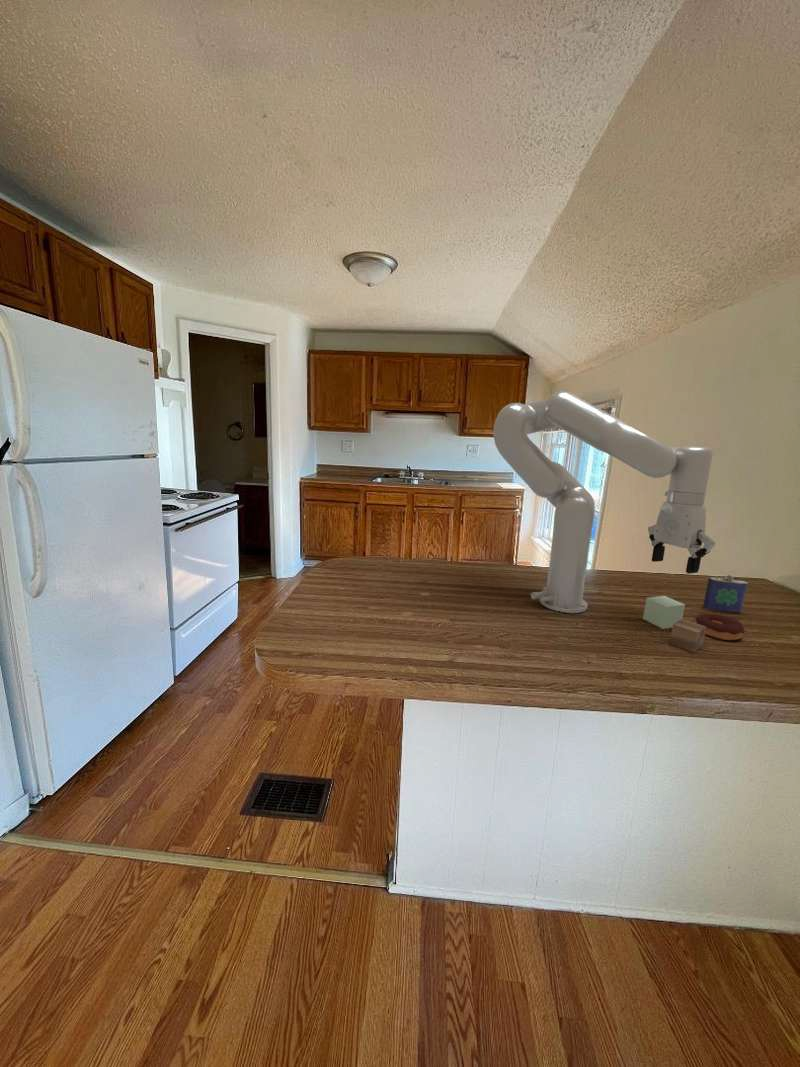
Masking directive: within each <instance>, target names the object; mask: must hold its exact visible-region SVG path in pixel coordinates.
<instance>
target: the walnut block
mask: <svg viewBox="0 0 800 1067" xmlns="http://www.w3.org/2000/svg"><path fill="white" fill-rule="evenodd" d="M705 631H706V626H703V625H699V624H696V623H694V621H690V620H686V619H683V618H682V619H681V620H679V621H678V622H676V623H674V624H673V627H672V630H671V634H670V639H669V644H670V645H672V646H674V647H677V648H680V649H683V650H686V651H688V652H691V653H696V652H698V650H699V649H701V648H702V647H703V644H704V639H705V636H706V634H705Z"/></svg>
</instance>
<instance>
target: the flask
mask: <svg viewBox="0 0 800 1067" xmlns="http://www.w3.org/2000/svg"><path fill="white" fill-rule="evenodd" d="M734 578H735V576H734V575H733V574H731V573H730V574H727V576H726V577H721V576H720V577H718V576H715V577H709V578H708V580H707V585H706V592H705V594H704V599H703V600H704V601H703V604H702V606H703V607H702V608H703V610H707V611H711V612H719V613H726V614H738V615H739V614H740V613H742V612H743V606H744V603H745V599H746V593H747V591H748V590H747V589H748V585H749V583H748V582H747V581H744V580H735V579H734Z"/></svg>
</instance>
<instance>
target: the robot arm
mask: <svg viewBox="0 0 800 1067" xmlns="http://www.w3.org/2000/svg"><path fill="white" fill-rule="evenodd" d="M556 428H559V429H560V430H563V431H564V432H566V433H568V434H569V435H571V436H574V437H575V438H577V439H579V440H580V441H581V442H584V443H586V444H588V445H589V446H591V447H592V448H593V449H596V450H598V451H600V452H603V453H606V454H607V455H610V456H611V457H613V458H615V459H617V460H619V461H620V462H622V463H623V464H626V465H628V466H629V467H631V468H632V469H634V470H636V471H638V472H640V473H641V474H643V475H645V476H646V477H649V478H652V479H660V478H663V477H666V476H668V475H670V477H669V484H668V490H667V491H665V492H664V496H665V497H666V501H663V503H662V505H661V507H660V510H659V513H658V515H657V518H656V523H655V524H653V525H650V526H648V527H647V531H648V534H649V536H648V537H649V539H650V541H651V546H652V547H653V549H652V554H651V555H652V556H651V562H653V563H656V562H663V561H664V557H665V550H666V545H665V544H667V545H670V546H674V547H677V548H681V549H687V550H688V552H689V555H690V556H688V557H687V562H686V563H687V564H686V568H685V572H686V574H697V573H698V572H699V570H700V567H701V566H700V564H701V560H702V558H704V557H705V556H706V555H707V554H709V553H710V552H711V551H712V549H714V547H715V546H716V542H715V541H714V540H713V539H712V538H710V536H708V535H707V534H706V533H705V532H706V524H707V523H706V520H707V517H706V516H707V514H706V512H707V510H706V506H704V503H705V499H706V493H707V488H708V481H709V477H710V472H711V465H712V460H713V454H714V453H713V450H712V449H711V448H710V447H706V446H705V447H704V446H690V445H689V446H680V447H678V446H676V447H675V446H669V445H665V444H664V443H662V442H660V441H659V440H656V439H655V438H653V437H651V436H649V435H647V434H645V433H644V432H641V431H639V430H637V429H636V428H634V427H632V426H631V425H629V424H627V423H625V422H624V421H622V420H621V419H619V418H618V417H616V416H614V415H613V414H611V413H609V412H607V411H605V410H603V409H601V408H599V407H597V406H596V405H594V404H592V403H590V402H589V401H586V400H584V399H583V398H582V397H579V396H577V395H575V394H573V393H571V392H570V391H566V390H559V391H556V392H554V393H552V394H551V395H550V396H549V397H548V398H544V399H542V400H541V399H540V400H537V401H533V402H529V403H526V404H524V403H521V402H512V403H509V404H507V405H505V406H503V407H502V408H501V409H500V411H499V412H498V414H497V417H496V418H495V420H494V425H493V442H494V444H495V447H496V449H497V452H498V453H499V454H500V456H501V457H502V458H503V460H505V462H506V464H508V465H509V466H510V468H511V469H513V471H514V472H515V473H516V474H517V475H518V476H519V477H520V478H521V480H522V481H523V482H524V483H525V484H526V485H527V486H528V487H529V489H530V490H531V491H532V493H534V494H535V495H536V496H538V497H540V498H544V499H545V498H546V500H547V501H548V502H549V503H550V504H551V505H552V506H553V507H554V508H555V510H554V515H553V527H552V528H553V529H552V537H551V538H552V539H551V548H550V556H549V557H550V558H549V566H548V574H547V582H546V586H544V587H543V588H542V590H540V591H533V592H531V593H530V598H531V599H532V600H539V601H538V602H539V603H540V604H541V605H542V606H544V607H546V608H547V609H550V610H551V611H556V612H559V611H560V613H564V612H565V614H579V613H584V612H585V611H587V609H588V603H587V601H586V600H585V599H584V598H583V597H584V596H583V595H584V588H585V581H586V575H587V568H588V567H587V566H588V562H589V561H588V560H589V555H590V554H589V551H590V544H591V538H592V531H593V526H594V521H595V513H596V508H595V507H596V505H595V500H594V497H593V496H592V494H591V493H589V491H588V490H587V489H586V488H585V487H584V486H583V485H582V484H581V483H580V482H579V481H578V480H577V479H576V478H575V477H574V475H572V474H571V473H570V472H569V471H568V469H566V468H565V467H564V466H563V465H562V464H560V463H559V462H556V461H552V460H550V458H548V456H546V455H545V454H544V453H543V451H541V449H540V448H539V447H538V446H537V445H536V444H535V443H534V442H533V441H532V440H531V439H530V437H529V436H528V435H530V434H535V433H539V432H544V431H548V430H553V429H556ZM701 546H703V547H701Z"/></svg>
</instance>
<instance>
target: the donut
mask: <svg viewBox="0 0 800 1067" xmlns="http://www.w3.org/2000/svg"><path fill="white" fill-rule="evenodd" d="M693 623H696V624H699V625H703V626H706V631H705V636H709V637H711V638H715V639H718V640H721V641H722V640H723V641H736V640H740V639H742V638H743V637H744V633H745V631H744V625H743V624H742V623H741V621H739V620H738V619H735V618H733V617H729V616H726V615H725V616H724V615H722V614H721V615H720V614H717V613H703V612H702V613H700V614H699V613H698V615H697V616H696V617H694V621H693Z"/></svg>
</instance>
